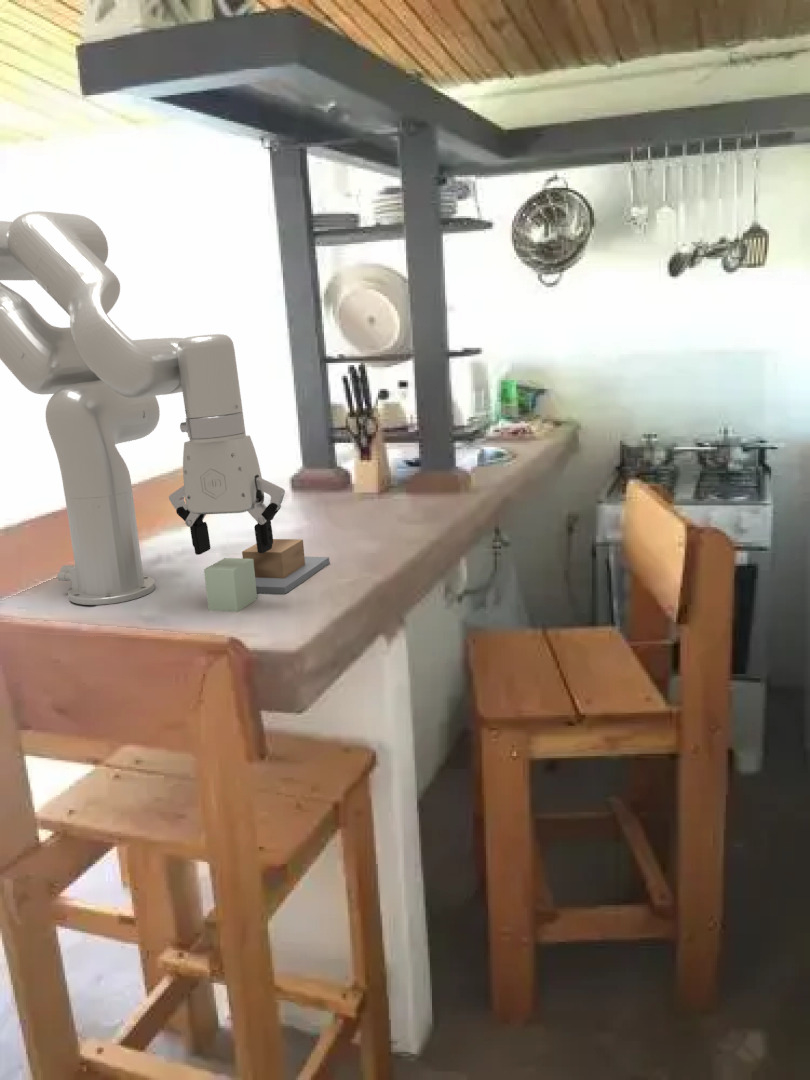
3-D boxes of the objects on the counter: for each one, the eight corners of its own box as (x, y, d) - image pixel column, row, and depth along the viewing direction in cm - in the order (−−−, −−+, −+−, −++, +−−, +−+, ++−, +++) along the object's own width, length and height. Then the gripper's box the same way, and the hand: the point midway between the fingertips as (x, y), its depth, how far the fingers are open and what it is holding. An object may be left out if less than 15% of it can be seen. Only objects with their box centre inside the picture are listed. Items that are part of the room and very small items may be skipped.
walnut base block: (244, 577, 142) (242, 551, 141) (267, 563, 150) (265, 538, 149) (283, 578, 140) (281, 552, 139) (305, 564, 148) (302, 539, 147)
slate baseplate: (217, 591, 139) (216, 585, 139) (267, 561, 155) (267, 555, 154) (285, 594, 136) (284, 587, 135) (329, 563, 151) (329, 557, 151)
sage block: (208, 610, 130) (204, 569, 129) (229, 598, 136) (225, 558, 134) (237, 612, 129) (233, 570, 127) (257, 599, 134) (253, 558, 133)
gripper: (145, 436, 125) (165, 559, 129) (261, 428, 120) (278, 557, 124) (175, 429, 132) (193, 546, 136) (286, 421, 127) (301, 543, 131)
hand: (233, 551), depth 130 cm, fingers open, 9 cm apart
